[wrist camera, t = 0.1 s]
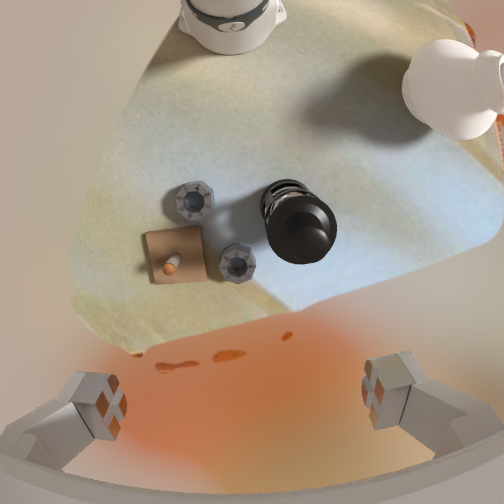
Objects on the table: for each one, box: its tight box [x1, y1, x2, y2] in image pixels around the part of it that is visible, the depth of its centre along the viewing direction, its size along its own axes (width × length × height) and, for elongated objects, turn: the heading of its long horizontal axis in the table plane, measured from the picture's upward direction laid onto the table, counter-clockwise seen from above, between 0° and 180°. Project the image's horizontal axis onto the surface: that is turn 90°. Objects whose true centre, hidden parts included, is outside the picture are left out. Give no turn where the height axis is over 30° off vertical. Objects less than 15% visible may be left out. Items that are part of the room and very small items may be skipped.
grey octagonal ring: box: [219, 243, 256, 284], centre depth 57 cm, size 6×6×4 cm
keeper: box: [146, 226, 208, 285], centre depth 55 cm, size 10×10×8 cm
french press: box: [261, 179, 337, 264], centre depth 45 cm, size 12×9×23 cm
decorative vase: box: [402, 39, 504, 140], centre depth 37 cm, size 18×18×25 cm
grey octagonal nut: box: [175, 181, 215, 220], centre depth 54 cm, size 6×6×4 cm
